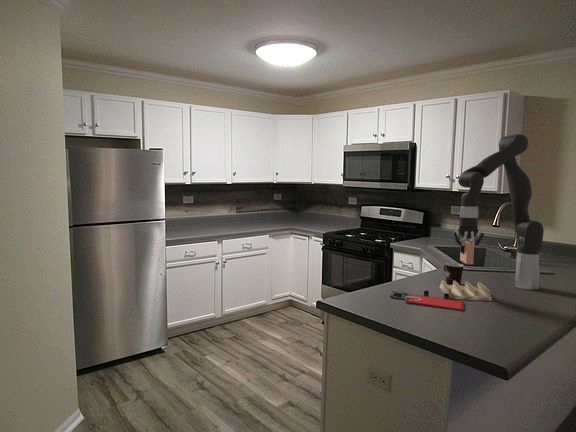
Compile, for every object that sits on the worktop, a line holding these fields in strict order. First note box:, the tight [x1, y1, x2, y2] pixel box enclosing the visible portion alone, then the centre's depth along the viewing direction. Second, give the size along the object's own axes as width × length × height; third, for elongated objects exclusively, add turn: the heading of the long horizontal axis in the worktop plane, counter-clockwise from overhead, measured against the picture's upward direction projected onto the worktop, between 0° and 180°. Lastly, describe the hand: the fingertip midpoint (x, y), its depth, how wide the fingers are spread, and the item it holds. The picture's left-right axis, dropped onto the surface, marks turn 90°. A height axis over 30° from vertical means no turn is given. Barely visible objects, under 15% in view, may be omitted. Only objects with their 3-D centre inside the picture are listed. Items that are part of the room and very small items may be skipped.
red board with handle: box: [389, 290, 465, 312], centre depth 170 cm, size 30×3×15 cm
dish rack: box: [439, 279, 493, 302], centre depth 181 cm, size 18×18×4 cm
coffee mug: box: [443, 262, 465, 286], centre depth 198 cm, size 12×9×10 cm
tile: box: [459, 240, 475, 265], centre depth 179 cm, size 10×3×9 cm, turn 170°
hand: (466, 253), depth 179 cm, fingers closed on tile, 3 cm apart
